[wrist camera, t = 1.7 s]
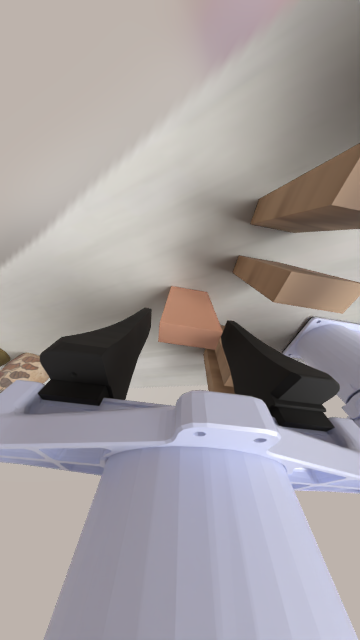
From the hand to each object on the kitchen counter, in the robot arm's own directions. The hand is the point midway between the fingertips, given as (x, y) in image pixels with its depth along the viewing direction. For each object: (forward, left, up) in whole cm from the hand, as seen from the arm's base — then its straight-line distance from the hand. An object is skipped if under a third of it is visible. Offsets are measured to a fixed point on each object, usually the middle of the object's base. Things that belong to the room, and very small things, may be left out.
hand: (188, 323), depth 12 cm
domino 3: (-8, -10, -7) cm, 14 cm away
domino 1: (0, 0, -7) cm, 7 cm away
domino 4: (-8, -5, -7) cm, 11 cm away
